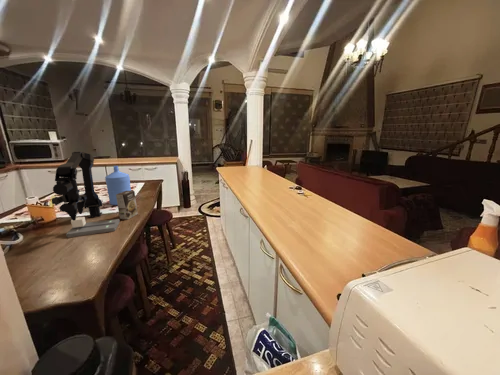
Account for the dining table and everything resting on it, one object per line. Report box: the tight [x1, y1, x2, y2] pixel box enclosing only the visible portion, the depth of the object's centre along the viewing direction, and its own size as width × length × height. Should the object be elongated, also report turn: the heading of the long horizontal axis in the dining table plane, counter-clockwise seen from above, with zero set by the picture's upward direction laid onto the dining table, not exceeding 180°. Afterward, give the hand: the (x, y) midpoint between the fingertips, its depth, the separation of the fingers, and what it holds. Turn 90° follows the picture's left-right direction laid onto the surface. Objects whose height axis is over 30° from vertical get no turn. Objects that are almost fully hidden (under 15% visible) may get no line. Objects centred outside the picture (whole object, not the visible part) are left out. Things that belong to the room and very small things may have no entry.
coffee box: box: [116, 190, 138, 220], centre depth 139 cm, size 9×6×16 cm
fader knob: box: [70, 216, 87, 229], centre depth 120 cm, size 4×5×5 cm
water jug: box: [104, 165, 132, 206], centre depth 164 cm, size 16×16×28 cm
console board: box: [65, 218, 120, 238], centre depth 123 cm, size 13×22×2 cm, turn 110°
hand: (77, 216), depth 119 cm, fingers open, 9 cm apart
